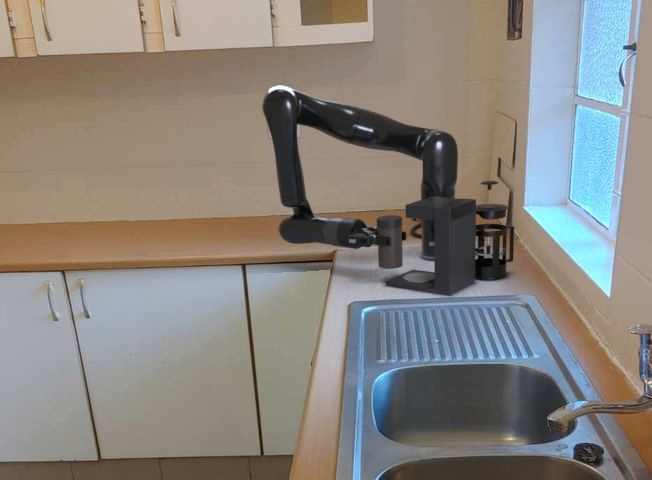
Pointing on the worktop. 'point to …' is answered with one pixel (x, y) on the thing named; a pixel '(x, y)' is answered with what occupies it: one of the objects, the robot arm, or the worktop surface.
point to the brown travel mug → (393, 229)
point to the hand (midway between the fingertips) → (398, 239)
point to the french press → (494, 265)
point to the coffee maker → (444, 246)
